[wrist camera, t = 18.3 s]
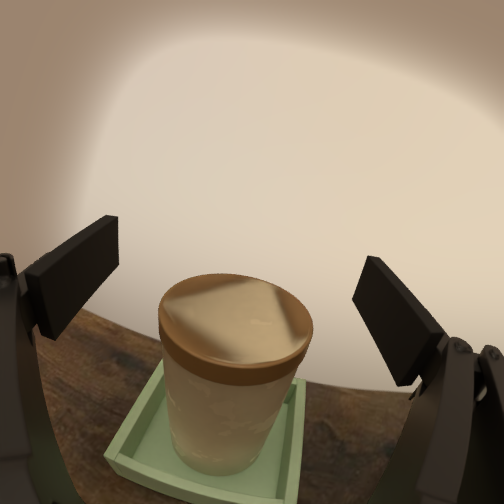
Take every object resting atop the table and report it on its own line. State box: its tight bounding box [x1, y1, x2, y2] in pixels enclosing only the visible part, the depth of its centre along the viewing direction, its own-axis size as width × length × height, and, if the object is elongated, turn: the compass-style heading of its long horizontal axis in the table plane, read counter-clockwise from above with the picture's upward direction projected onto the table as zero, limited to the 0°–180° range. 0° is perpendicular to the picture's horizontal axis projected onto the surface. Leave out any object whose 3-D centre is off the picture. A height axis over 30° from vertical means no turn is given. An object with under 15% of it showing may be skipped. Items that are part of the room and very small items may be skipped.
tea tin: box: [158, 274, 313, 476], centre depth 13 cm, size 6×6×11 cm
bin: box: [104, 359, 306, 504], centre depth 15 cm, size 10×10×3 cm
